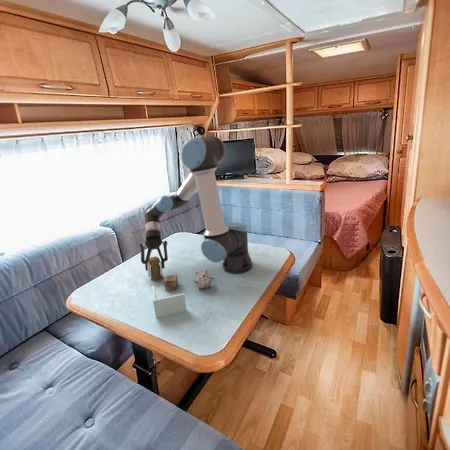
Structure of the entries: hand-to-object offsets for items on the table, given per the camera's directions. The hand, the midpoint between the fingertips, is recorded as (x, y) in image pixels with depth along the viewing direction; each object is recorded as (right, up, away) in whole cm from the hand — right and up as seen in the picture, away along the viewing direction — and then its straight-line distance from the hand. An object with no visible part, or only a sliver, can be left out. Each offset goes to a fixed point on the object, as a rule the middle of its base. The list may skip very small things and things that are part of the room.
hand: (155, 275), depth 136 cm
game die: (+24, -4, -7) cm, 25 cm away
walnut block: (+9, -5, -5) cm, 11 cm away
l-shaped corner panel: (+11, -9, -19) cm, 24 cm away
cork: (0, -2, +5) cm, 5 cm away
